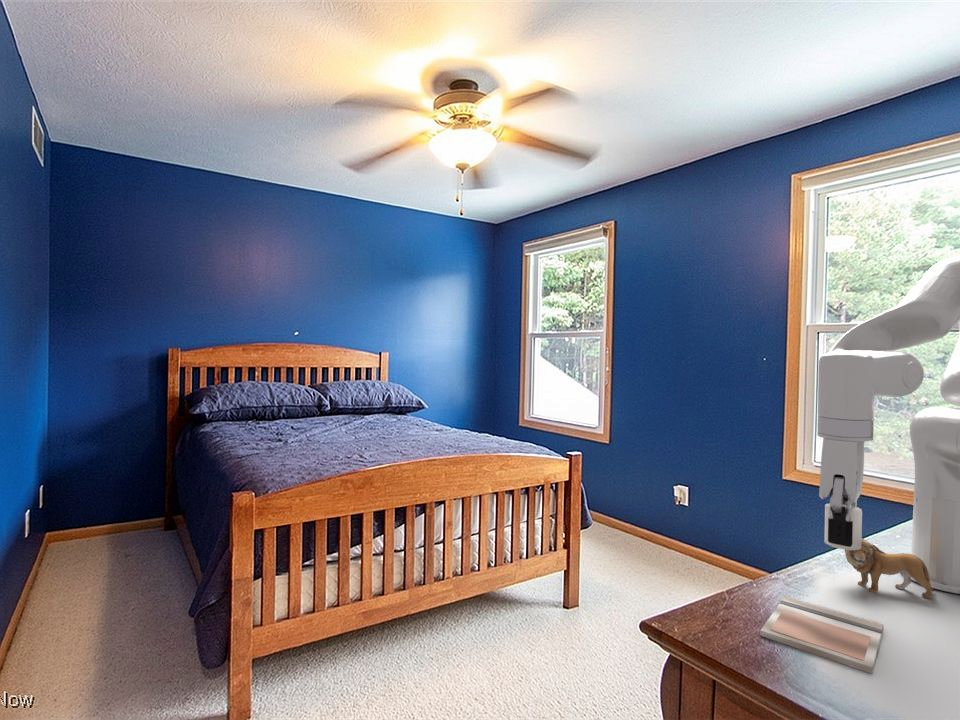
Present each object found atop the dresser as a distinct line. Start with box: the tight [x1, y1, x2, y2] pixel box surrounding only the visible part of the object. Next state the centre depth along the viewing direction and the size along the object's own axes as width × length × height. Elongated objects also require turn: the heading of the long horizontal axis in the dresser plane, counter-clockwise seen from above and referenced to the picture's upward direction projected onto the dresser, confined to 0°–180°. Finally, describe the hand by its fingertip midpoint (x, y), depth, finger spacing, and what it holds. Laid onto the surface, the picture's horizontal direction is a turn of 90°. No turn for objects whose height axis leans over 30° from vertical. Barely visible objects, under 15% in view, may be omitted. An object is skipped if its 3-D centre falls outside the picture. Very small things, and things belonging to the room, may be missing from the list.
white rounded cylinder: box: [823, 503, 863, 551], centre depth 88 cm, size 5×5×6 cm
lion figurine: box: [844, 538, 935, 599], centre depth 93 cm, size 15×5×9 cm, turn 86°
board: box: [759, 595, 885, 674], centre depth 79 cm, size 15×13×1 cm
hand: (842, 538), depth 88 cm, fingers closed on white rounded cylinder, 4 cm apart
